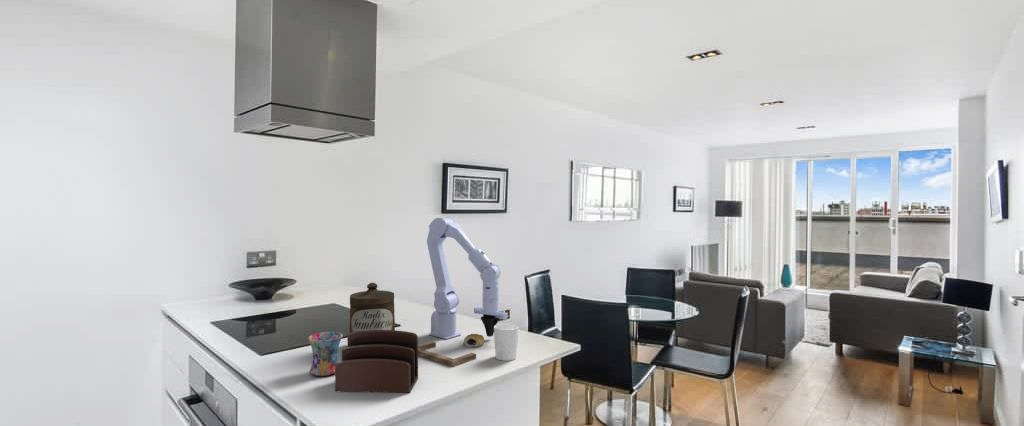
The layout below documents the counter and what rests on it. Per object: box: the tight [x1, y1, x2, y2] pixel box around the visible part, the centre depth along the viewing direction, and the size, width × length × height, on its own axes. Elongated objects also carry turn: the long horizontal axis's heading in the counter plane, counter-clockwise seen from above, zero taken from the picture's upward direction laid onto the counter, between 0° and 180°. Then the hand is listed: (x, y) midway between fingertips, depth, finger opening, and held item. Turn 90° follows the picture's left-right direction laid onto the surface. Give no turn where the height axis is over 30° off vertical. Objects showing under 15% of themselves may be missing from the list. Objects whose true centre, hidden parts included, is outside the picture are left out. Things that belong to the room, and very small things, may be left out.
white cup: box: [493, 323, 520, 362], centre depth 150 cm, size 8×8×10 cm
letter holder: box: [334, 329, 419, 394], centre depth 126 cm, size 10×20×14 cm, turn 89°
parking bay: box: [418, 341, 477, 368], centre depth 152 cm, size 21×10×2 cm, turn 51°
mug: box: [307, 331, 344, 377], centre depth 137 cm, size 12×9×11 cm
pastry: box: [462, 333, 485, 348], centre depth 165 cm, size 9×7×4 cm
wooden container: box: [349, 282, 396, 333], centre depth 160 cm, size 15×15×22 cm
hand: (490, 335), depth 170 cm, fingers closed
